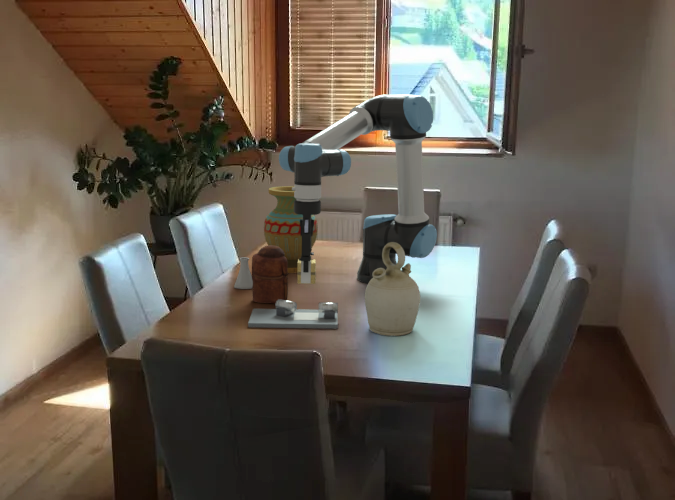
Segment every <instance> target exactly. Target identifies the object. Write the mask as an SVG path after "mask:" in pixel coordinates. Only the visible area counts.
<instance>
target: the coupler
mask: <svg viewBox="0 0 675 500" xmlns="http://www.w3.org/2000/svg"><path fill="white" fill-rule="evenodd" d="M316 266H317V265H316V259H314V258H313V259H312V258H311V283H301V261H299V259H298V271H297V273H296V275H297V284H299V285H315V284H316V274H317V273H316V270H317V267H316Z"/></svg>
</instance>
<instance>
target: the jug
mask: <svg viewBox="0 0 675 500" xmlns="http://www.w3.org/2000/svg"><path fill="white" fill-rule="evenodd" d="M391 248H393V249H394V250H395V251H396V252H397V254H396V256H397V261H396V262H397V264H396V265H395V264H393V263H392V262H391V261H390V258H389V251H390V249H391ZM382 259H383V262H384V264H385V265H386V267H387V269H386V270H385V269H384V268H378V269H376V270H374V271H373V273H372V276H373V278H372V279H371V280H370V281H369V283H367V286H366V288H365V291H364V305H365V310H366V317H367V323H368V328H369V331H371V332H372V333H373V334H374V333H375V334H376V335H381V336H387V337H401V336H405V335H409V334H410V333H412V332H413V330H414V327H415V323H416V319H417V316H418V313H419V310H420V309H419V308H420V305H421V292H420V288H419V286H418V284H417V282H416V280H415V279H413V278H412V277H411V276H410V274H411V273H412V270H411V269H412V265H411V264H410V263H406V256H405V253H404V250H403V248H402V247H401V246H400V245H399V244H398V243H396V242H390V243H388V244H386V245H385V246H384V248H383V251H382ZM405 263H406V264H405Z"/></svg>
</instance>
